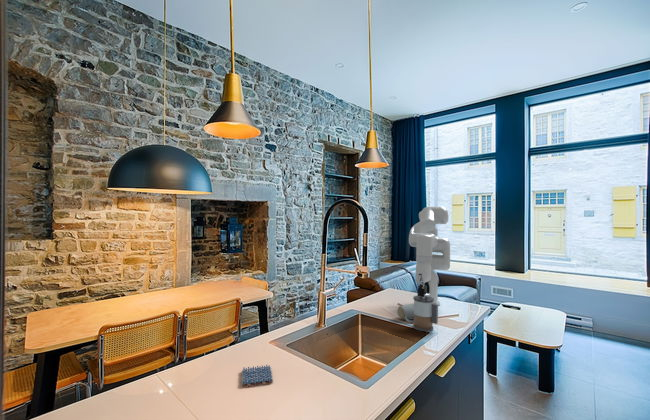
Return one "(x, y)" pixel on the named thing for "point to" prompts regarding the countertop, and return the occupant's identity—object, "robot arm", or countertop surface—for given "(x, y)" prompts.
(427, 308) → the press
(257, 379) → the blue-grey spiked square pad
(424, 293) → the plunger
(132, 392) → the countertop surface
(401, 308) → the ceramic mug
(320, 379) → the countertop surface
